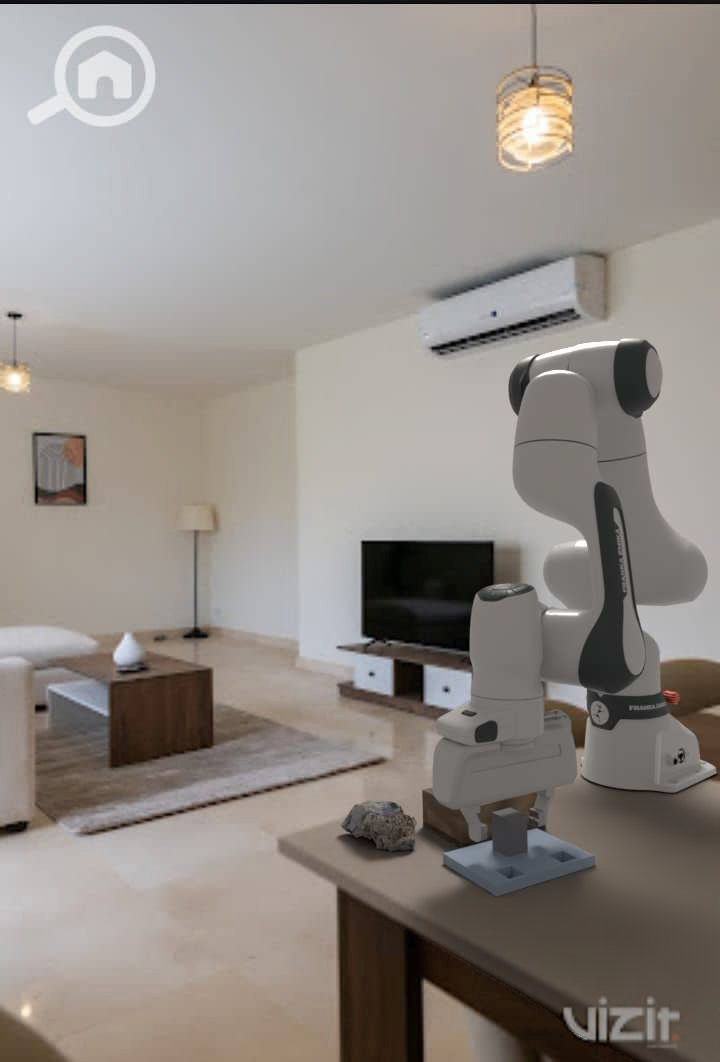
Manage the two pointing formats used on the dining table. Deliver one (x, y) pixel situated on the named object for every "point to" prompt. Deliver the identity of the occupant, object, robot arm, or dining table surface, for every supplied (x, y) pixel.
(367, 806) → the mineral specimen
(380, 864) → the dining table surface
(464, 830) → the wooden box with pegs
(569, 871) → the grey peg base plate
